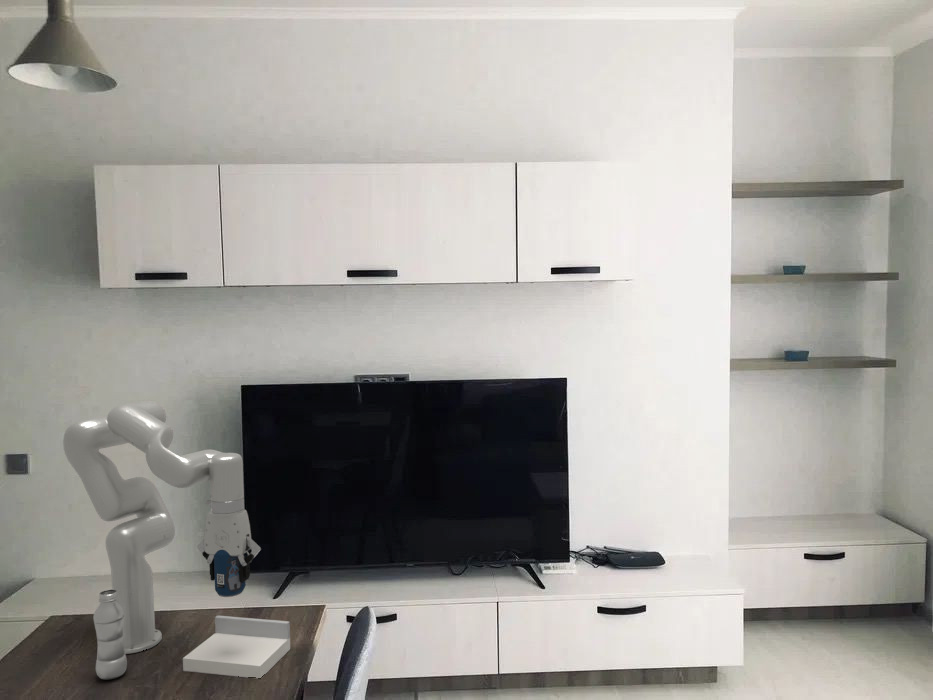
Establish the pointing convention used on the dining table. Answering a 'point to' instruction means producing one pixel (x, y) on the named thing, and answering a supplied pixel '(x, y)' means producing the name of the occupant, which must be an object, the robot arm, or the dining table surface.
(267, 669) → the shelf
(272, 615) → the dining table surface
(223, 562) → the soda can
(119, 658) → the plastic bottle
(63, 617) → the dining table surface
